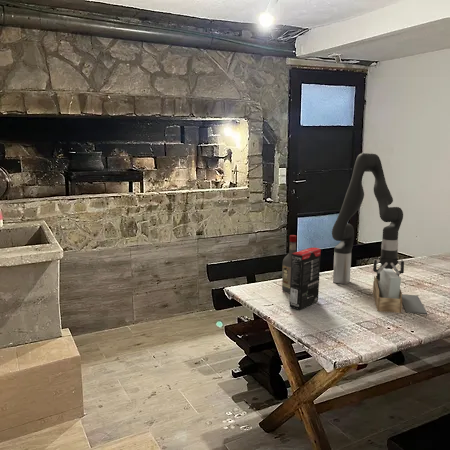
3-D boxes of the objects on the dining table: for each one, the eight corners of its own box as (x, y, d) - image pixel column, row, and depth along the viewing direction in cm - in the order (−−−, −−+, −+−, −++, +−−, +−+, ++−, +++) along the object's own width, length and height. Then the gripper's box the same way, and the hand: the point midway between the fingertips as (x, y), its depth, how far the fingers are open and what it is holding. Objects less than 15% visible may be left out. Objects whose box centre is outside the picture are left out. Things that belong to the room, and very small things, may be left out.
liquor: (292, 286, 248) (293, 233, 242) (304, 291, 240) (305, 236, 235) (279, 289, 243) (280, 235, 238) (291, 294, 235) (292, 238, 230)
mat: (406, 312, 209) (406, 311, 209) (398, 295, 233) (398, 294, 233) (427, 314, 207) (427, 313, 207) (417, 296, 231) (417, 295, 231)
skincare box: (399, 310, 212) (401, 278, 210) (387, 310, 213) (389, 277, 210) (387, 295, 233) (389, 265, 230) (376, 295, 234) (378, 265, 231)
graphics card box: (307, 298, 229) (309, 246, 224) (319, 301, 225) (321, 248, 220) (288, 307, 217) (290, 252, 212) (301, 311, 212) (302, 254, 207)
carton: (377, 311, 211) (378, 291, 210) (372, 292, 237) (373, 275, 235) (401, 313, 209) (402, 293, 207) (394, 294, 235) (395, 276, 233)
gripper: (374, 249, 216) (372, 282, 219) (406, 250, 213) (404, 284, 216) (373, 245, 223) (371, 277, 226) (404, 247, 220) (402, 279, 223)
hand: (387, 280), depth 221 cm, fingers open, 7 cm apart
